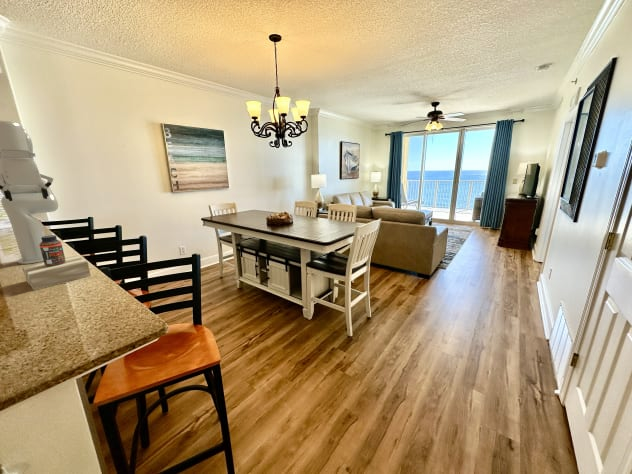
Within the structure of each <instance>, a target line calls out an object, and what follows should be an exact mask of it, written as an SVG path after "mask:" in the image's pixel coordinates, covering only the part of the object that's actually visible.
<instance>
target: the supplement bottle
mask: <svg viewBox="0 0 632 474" xmlns="http://www.w3.org/2000/svg"><path fill="white" fill-rule="evenodd" d="M41 239H42V242H41V243H40V249H41V253H42V257H43V260H44V261H43V262H44V264H45V265H46V266H56V265H60V264H63V263H65V262H66V260H65V258H66V256H65V253H64V248H63V245H62V242H61V240H59V239H57V235H56V234H52V235H50V234H49V235H45V236H43V237H41Z"/></svg>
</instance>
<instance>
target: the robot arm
mask: <svg viewBox="0 0 632 474" xmlns="http://www.w3.org/2000/svg"><path fill="white" fill-rule="evenodd" d="M32 141H33V140H32V138H31V137H30V135H29V134H28V132H27V131H26V129H25V128H24V127H23V125H22V124H20V123H19V122H16V121H8V120H0V192H1V194H2V195H3V197H2V198H1V201H0V203H1V205H2V208H3V210H4V212H5V213H6V215H7V218H8V219H9V222H10V225H11V228H12V231H13V235H14V237H15V241H16V244H17V247H18V251H19V253H20V258H19V259H18V260H17V263H18V264H20V265H26V264H27V265H30V264H38V263H43V262H44V260H43V257H42V253H41V249H40V243H41V242H42V239H41V237H43V236H46V233H45V229H44V226H43V224H42V222H41V220H39V219H38V218H37V217H34V216H33V215H35V214H45V213H53V212H55V211H57V210H58V209H59V203H58V200H57V198H56V196H55V194H54V193H53V190H52V189H51V188H50V187H51V185H52V183H53V182H54V178H53V177H51V176H47V175H44V174H41V173H40V170H39V167H38V165H37V163H36V162H35V159H34V157H35V158H36V153H34V146H33V142H32ZM44 179H45V180H44ZM46 180H47V181H46Z"/></svg>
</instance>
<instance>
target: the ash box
mask: <svg viewBox="0 0 632 474" xmlns="http://www.w3.org/2000/svg"><path fill="white" fill-rule="evenodd" d="M65 260H66V262H65V263H63V264H60V265H56V266H46V265H45V264H44V261H42V262H37V263H33V264H28V265H24V266H21V268H22V271H23V274H24V277H25V281H26V282H27V284H28V285H29V286H30V287H31V289H32V290H33V291H36V290H37V291H38V290H41V289H44V288H48V287H52V286H56V285H60V284H64V283H68V282H72V281H77V280H80V279H83V278H87V277H91V276H92V275H91V272H90V267H89V263H88V261H87V260H85V259H83V258H81V257H80V256H78V255H73V256H68V257H65Z"/></svg>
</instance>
